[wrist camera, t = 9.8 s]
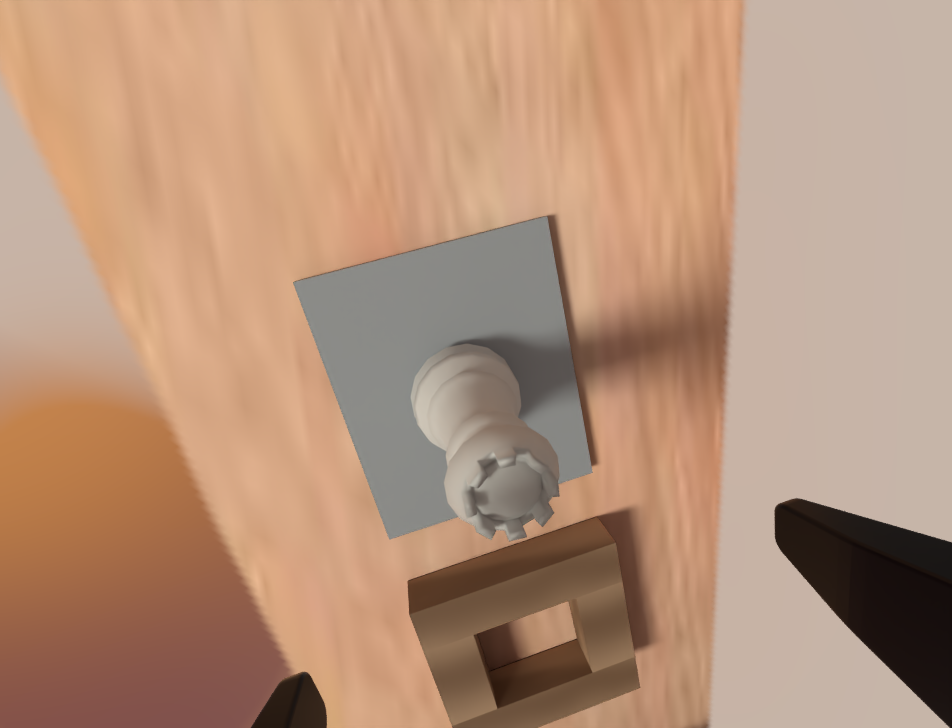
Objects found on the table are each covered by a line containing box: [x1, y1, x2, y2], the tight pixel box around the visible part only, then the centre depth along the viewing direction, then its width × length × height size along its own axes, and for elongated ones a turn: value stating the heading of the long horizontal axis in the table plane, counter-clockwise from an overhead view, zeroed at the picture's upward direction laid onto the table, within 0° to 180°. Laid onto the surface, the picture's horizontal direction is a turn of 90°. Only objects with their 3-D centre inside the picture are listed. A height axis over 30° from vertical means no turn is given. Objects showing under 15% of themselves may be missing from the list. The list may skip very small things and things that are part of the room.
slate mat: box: [293, 216, 593, 539], centre depth 19 cm, size 12×10×1 cm
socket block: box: [408, 517, 640, 728], centre depth 23 cm, size 10×10×2 cm
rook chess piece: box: [411, 344, 560, 541], centre depth 15 cm, size 4×4×8 cm
